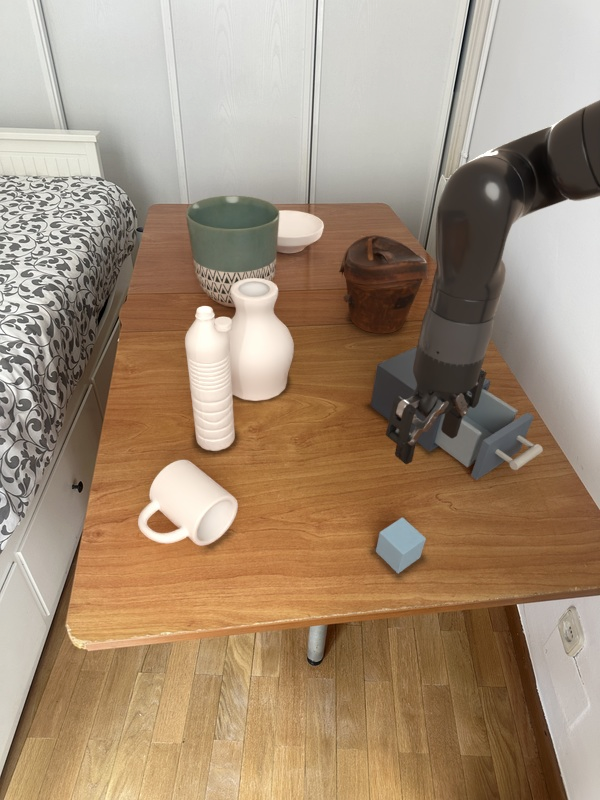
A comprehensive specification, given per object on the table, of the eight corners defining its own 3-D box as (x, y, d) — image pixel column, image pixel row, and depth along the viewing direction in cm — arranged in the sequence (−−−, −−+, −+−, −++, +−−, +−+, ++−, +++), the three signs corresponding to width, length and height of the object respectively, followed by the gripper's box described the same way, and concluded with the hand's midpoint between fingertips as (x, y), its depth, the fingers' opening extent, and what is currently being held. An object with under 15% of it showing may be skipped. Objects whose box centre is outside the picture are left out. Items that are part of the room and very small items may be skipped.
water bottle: (188, 437, 91) (171, 307, 76) (219, 420, 95) (209, 293, 79) (220, 465, 87) (209, 333, 71) (251, 446, 90) (247, 316, 74)
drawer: (541, 466, 88) (558, 431, 83) (498, 497, 82) (513, 461, 77) (457, 408, 99) (467, 374, 94) (414, 432, 93) (422, 397, 88)
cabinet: (476, 423, 97) (490, 381, 91) (429, 452, 91) (440, 408, 85) (417, 382, 106) (426, 341, 100) (370, 406, 100) (377, 364, 93)
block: (397, 536, 77) (402, 516, 74) (420, 557, 74) (426, 538, 72) (375, 551, 75) (379, 532, 72) (397, 574, 72) (403, 554, 70)
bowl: (252, 234, 159) (251, 210, 155) (317, 233, 161) (318, 210, 157) (255, 263, 144) (254, 237, 140) (326, 262, 146) (328, 236, 142)
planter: (252, 275, 139) (250, 190, 125) (294, 308, 126) (297, 218, 113) (181, 293, 130) (171, 204, 117) (218, 331, 118) (211, 236, 104)
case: (358, 291, 134) (366, 220, 123) (431, 317, 126) (447, 243, 114) (318, 320, 123) (323, 245, 111) (396, 351, 114) (410, 273, 103)
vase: (276, 412, 97) (277, 316, 85) (205, 393, 101) (196, 298, 88) (303, 369, 108) (307, 278, 95) (238, 353, 111) (234, 263, 98)
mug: (196, 486, 83) (191, 449, 78) (239, 522, 78) (237, 486, 73) (128, 532, 76) (118, 494, 71) (172, 575, 71) (164, 538, 66)
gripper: (433, 380, 55) (408, 487, 65) (519, 339, 61) (484, 441, 72) (383, 346, 59) (367, 451, 70) (468, 311, 66) (442, 411, 76)
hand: (426, 446), depth 71 cm, fingers open, 8 cm apart
